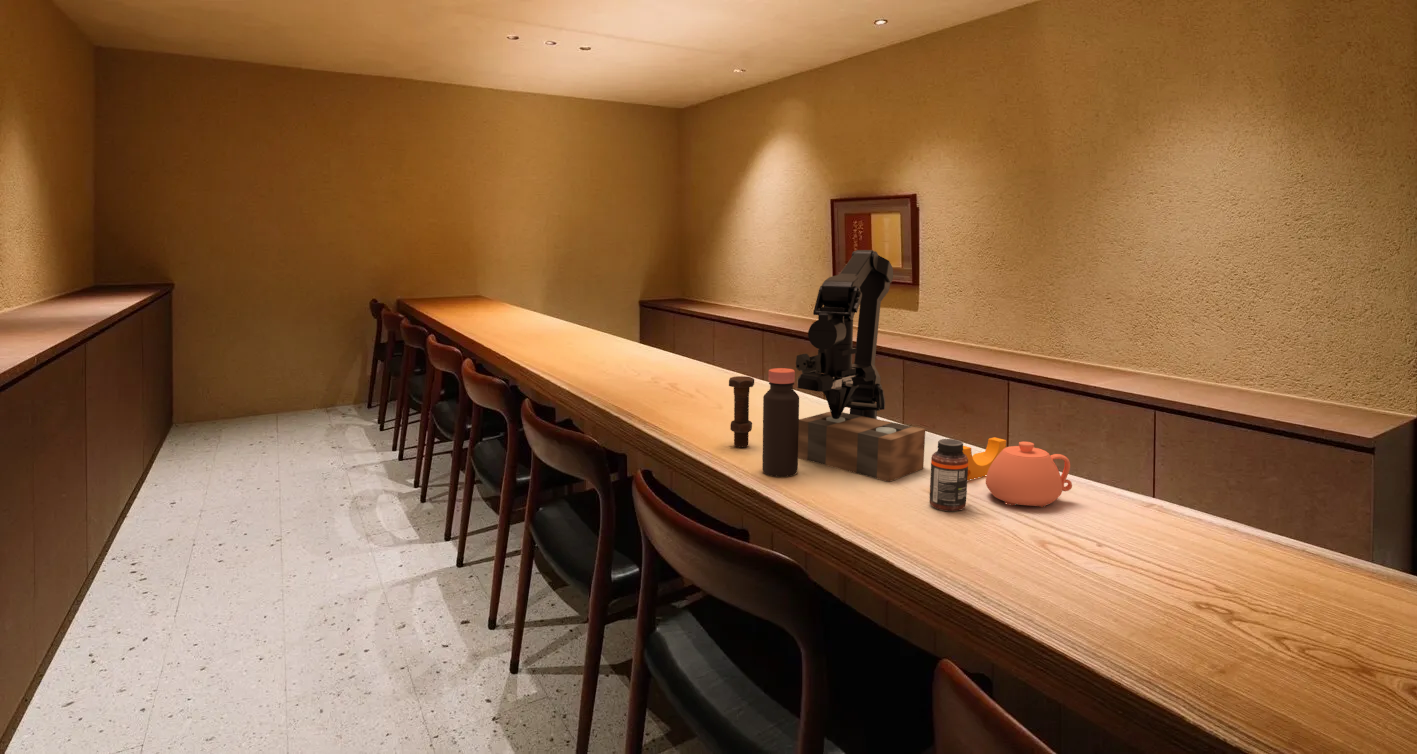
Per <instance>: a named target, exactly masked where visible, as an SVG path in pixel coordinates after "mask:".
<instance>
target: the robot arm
mask: <svg viewBox="0 0 1417 754" xmlns="http://www.w3.org/2000/svg"><path fill="white" fill-rule="evenodd" d="M893 279H894V267H893V266H892V264H891V261H890V260H889V259H886V258H885V257H882V255H881V256H880V255H879V254H878V252H877V251H875V250H873V249H857V250H854V251H852V253H851V258H850V259H849V260H848V262H847V263H846V264H845V266H844V267H843V268H842V270H841V271H840V273H839V274H836V275H833V276H829V277H828V278H827V279H826V280H824V281H823V282H822V284H821V285H820V287H819V289H818V293H817V295H816V301H815V304H814V305H815V306H814V308H813V316H818V317H817V318H818V319H817V320H815V321H814V322H813V323H812V324H811V325H810V326H809V329H808V331H807V337H808V340H809V342H810V344H811V345H812V346H813V347H815V349H818V350H817V355H816V354H815V355H814V356H810V355H809V354H808V353H802V354H801V353H800V354H798V355H796V356H795V357H796V358H795V368H796V369H797V370H798V371H801V374H800V375H799V376H798V377H797V386H796V387H797V389H801V390H807V391H812V392H819V393H821V392H822V393H823V395H824V397H825V399H826V402H827V404H828V408H829V412H830V411H831V415H832V418H833V419H839V418H840V416H841V414H842V412H843V413H844V410H845V408H849V414H853V415H858V416H863V417H868V418H873V419H878V412H879V411H882V410H885V409H886V397H885V391H884V390H883V385H882V384H881V380H882V379H881V376H880V373H879V371H878V369H877V366H876V357H877V356H876V354H877V345H878V333H879V324H880V323H879V322H880V312H881V303H882V301H883V300H884V298H885V297H886V295H887V294H888V293H889V292H890V286H891V283H892V282H893V281H894V280H893ZM857 313H858V321H857V333H856V342H855V347H853V343H854V342H853V339H854V338H853V337H854V316H855V315H856V314H857ZM853 355H854V362H853Z"/></svg>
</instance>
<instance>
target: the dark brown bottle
mask: <svg viewBox="0 0 1417 754" xmlns="http://www.w3.org/2000/svg"><path fill="white" fill-rule="evenodd" d="M795 375H796V371H795V370H794V369H793V368H784V367H777V368H769V369H768V384H769V389H768V390H767V392H766V393H765V394H764V395H763V400H762V401H763V404H762V405H763V406H762V467H761V468H762V472H763V473H764V474H765V475H767V476H769V477H770V476H771V477H776V478H787V477H791V476H794V475H797V473H798V470H799V466H798V465H799V458H798V434H799V419H800V396H799V395H798V393H797V392H796V391H795V390H794V389H793V388H794V385H795V383H796V381H795V377H796V376H795Z"/></svg>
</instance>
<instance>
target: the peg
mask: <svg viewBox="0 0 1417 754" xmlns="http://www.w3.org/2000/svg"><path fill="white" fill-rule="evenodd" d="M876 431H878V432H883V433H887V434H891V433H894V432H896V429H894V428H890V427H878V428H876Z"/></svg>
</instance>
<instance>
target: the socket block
mask: <svg viewBox="0 0 1417 754" xmlns="http://www.w3.org/2000/svg"><path fill="white" fill-rule="evenodd" d="M827 417H832V415H831V411H830V410H829V411H826V412H823V413H819V414H815V415H811V416H808V417H802V418H799V434H798V459H801V460H804V461H807V462H808V461H809V462H813V463H817V464H820V465H823V466H828V467H830V468H831V467H832V468H833V469H834V468H835V469H838V470H842V471H845V472H849V471H850V472H849V473H853V474H858V475H861V476H865V477H869V478H873V479H876V480H880V481H884V482H888V483H890V482H892V481H895V480H898V479H900V478H903V477H905V476H909V475H910V474H913V473H916V472H918V471H921V470H923V469H924V464H925V463H924V461H925V460H924V459H925V445H926V428H923V427H917V426H912V425H907V424H903V423H897V422H892V421H888V420H882V419H878V418H877V419H873V418H868V417H863V416H858V415H853V414H850V413H848V412H847V413H846V412H844V411H843V412H842V414H841V416H840V417H843V418H845V421H843V422H840V423H836V422H831V421H826V418H827ZM878 427H890V428H894V429H896V432H894V433H891V434H887V433H883V432H878V431H876V428H878Z"/></svg>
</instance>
